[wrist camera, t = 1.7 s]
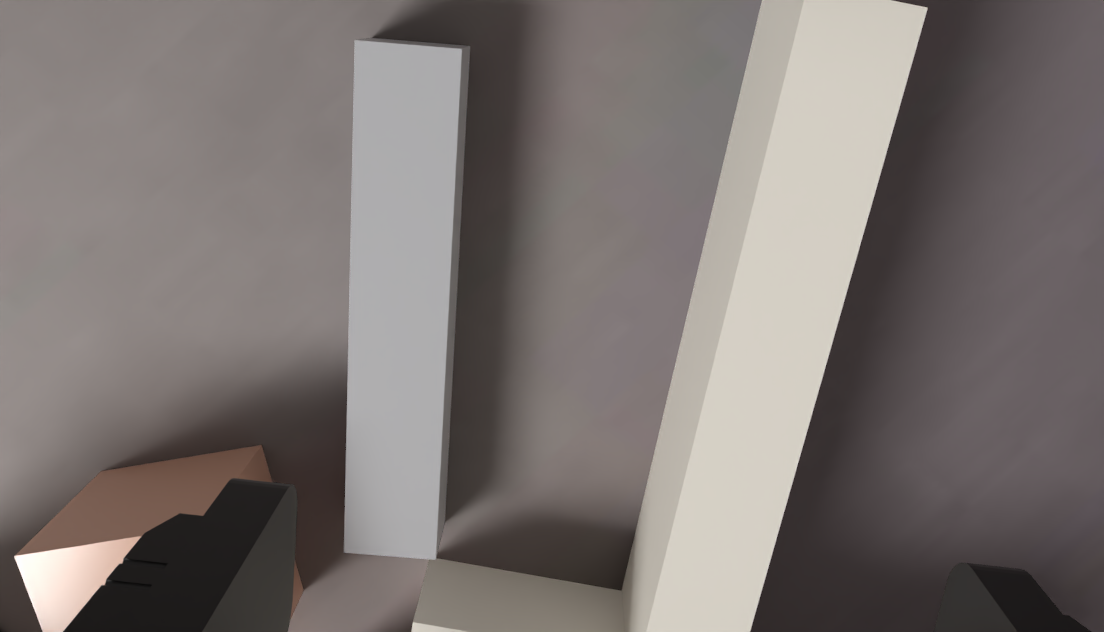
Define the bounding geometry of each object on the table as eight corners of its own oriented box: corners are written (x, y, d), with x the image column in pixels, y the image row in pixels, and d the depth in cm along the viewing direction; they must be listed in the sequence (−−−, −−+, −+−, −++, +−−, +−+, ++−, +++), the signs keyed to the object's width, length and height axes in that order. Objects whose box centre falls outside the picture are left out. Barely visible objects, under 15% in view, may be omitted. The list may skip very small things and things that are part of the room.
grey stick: (373, 37, 27) (354, 40, 24) (471, 45, 27) (461, 49, 24) (361, 510, 31) (344, 552, 28) (446, 517, 31) (435, 559, 28)
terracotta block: (102, 470, 30) (13, 556, 26) (262, 443, 30) (203, 526, 25) (150, 612, 32) (75, 719, 27) (304, 589, 31) (255, 693, 27)
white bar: (535, -58, 26) (527, -73, 21) (862, 8, 26) (928, 7, 21) (420, 611, 32) (393, 719, 27) (689, 658, 32) (709, 772, 27)
